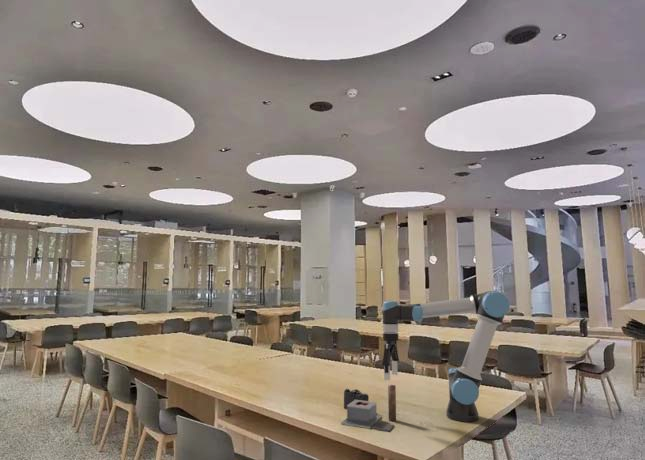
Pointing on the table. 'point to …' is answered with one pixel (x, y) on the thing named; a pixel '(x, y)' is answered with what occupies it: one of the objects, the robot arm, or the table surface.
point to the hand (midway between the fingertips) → (391, 377)
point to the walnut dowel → (392, 402)
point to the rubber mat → (383, 427)
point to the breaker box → (361, 414)
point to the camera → (353, 396)
